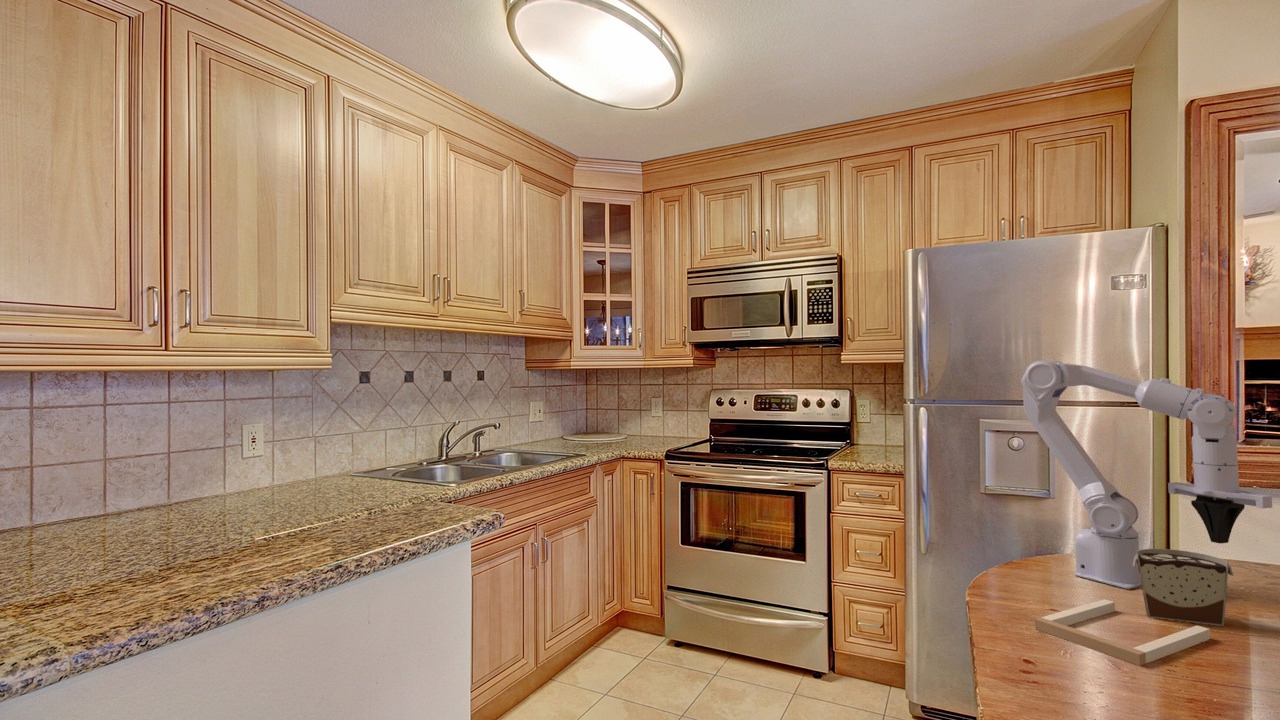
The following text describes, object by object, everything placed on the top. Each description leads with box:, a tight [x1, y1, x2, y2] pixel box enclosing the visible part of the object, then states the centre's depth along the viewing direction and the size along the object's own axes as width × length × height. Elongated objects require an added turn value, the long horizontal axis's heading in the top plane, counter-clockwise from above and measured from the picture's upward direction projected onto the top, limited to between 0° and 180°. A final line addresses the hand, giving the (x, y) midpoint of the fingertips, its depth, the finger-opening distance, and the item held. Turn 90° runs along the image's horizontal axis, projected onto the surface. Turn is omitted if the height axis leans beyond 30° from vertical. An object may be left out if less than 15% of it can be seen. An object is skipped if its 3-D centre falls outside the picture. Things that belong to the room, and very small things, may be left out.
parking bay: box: [1034, 598, 1211, 667], centre depth 92 cm, size 14×18×2 cm
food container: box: [1133, 548, 1234, 627], centre depth 99 cm, size 12×6×10 cm, turn 65°
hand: (1219, 542), depth 105 cm, fingers closed
